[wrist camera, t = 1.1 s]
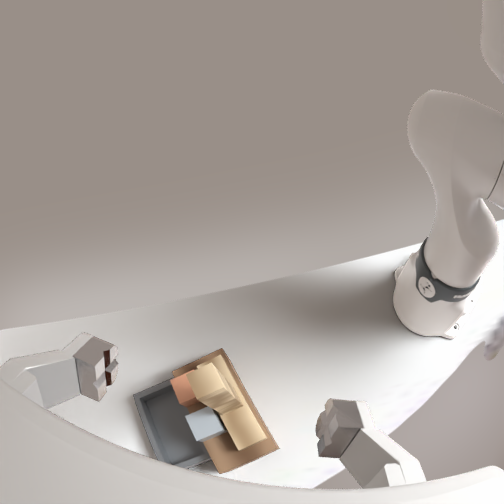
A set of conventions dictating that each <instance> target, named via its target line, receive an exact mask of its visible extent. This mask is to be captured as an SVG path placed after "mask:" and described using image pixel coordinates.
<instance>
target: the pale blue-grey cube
mask: <svg viewBox="0 0 504 504" xmlns="http://www.w3.org/2000/svg"><path fill="white" fill-rule="evenodd" d="M185 417H186V419H187V422H188V424H189V426H190V428H191V430H192V432H193V435H194V437H195V439H196V441H199V442H204V441H207V440H209V439H212V438H214V437H216V436H219V435H221V434H223V433H226V432H228V431H227V429H226V428H225V426H224V424H223V422H222V420H221V418H220V416H219V414H218V412H217V411H216V410H214V409H212V408H210V407H209V406H207V407H205V408H203V409H201V410H198V411H196V412H194V413H191V414H189V415H187V416H185Z"/></svg>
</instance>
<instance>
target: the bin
mask: <svg viewBox="0 0 504 504" xmlns="http://www.w3.org/2000/svg"><path fill="white" fill-rule="evenodd" d="M172 379H174V378H171V379H169V380H167V381H165V382H162V383H160V384H158V385H155V386H153V387H151V388H148V389H146V390H144V391H141V392H139V393H136V394H134V395H133V397H134V400H135V403H136V406H137V408H138V411H139V414H140V417H141V420H142V422H143V425H144V428H145V430H146V433H147V435H148V438H149V440H150V443H151V445H152V448H153V450H154V453H155V455H156V457H157V460H159V461H162V462H165V463H168V464H171V465H175V466H178V467H181V468H185V469H188V468H191V467H194V466H197V465H200V464H202V463H205V462H207V461H210V460H212V459H211V457H210V455H209V453H208V451H207V449H206V447H205V445H204V443H203V442H199V441H196V439H195V437H194V435H193V432H192V430H191V428H190V426H189V424H188V422H187V419H186V417H185V416H187V415H189V414H190V413H189V411H188V409H187V407H185V406H183V405H181V404H180V403H179V401H178V399H177V396H176V394H175V391H174V389H173V386H172V384H171V381H170V380H172Z"/></svg>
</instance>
